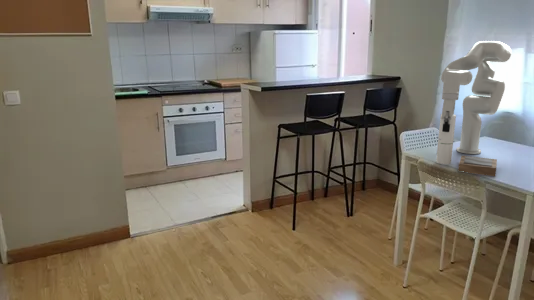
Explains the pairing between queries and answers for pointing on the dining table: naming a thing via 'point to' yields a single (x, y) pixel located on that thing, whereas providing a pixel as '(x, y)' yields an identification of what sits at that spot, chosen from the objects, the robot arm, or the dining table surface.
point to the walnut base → (478, 165)
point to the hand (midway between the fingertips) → (446, 129)
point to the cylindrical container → (445, 142)
